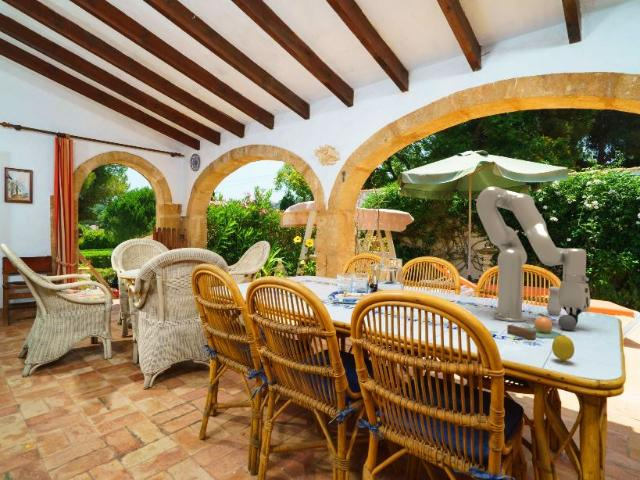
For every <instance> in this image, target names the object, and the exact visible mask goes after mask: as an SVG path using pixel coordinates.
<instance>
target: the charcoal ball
mask: <svg viewBox="0 0 640 480" xmlns="http://www.w3.org/2000/svg"><path fill="white" fill-rule="evenodd" d="M557 321H558V322H557V323H558V325H559V327H560V328H561V329H562V330H564V331H571V330H572V331H573V330H574V329H575V328H576V326H577V324H576V320H575V318H574V317H572V316H570V315H568V314H563V315H561V316H559V317H558V320H557Z"/></svg>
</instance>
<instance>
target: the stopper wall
mask: <svg viewBox="0 0 640 480" xmlns="http://www.w3.org/2000/svg"><path fill="white" fill-rule="evenodd" d="M506 326H507V330H506V331H507V332H506V333H507V334H510V335H513V336H516V337H520V338H523V339H525V340H529V341H535V340H537V337H536V331H533V330H529V329H525V328H526V327H521V326H518V325H514V324H507V325H506Z"/></svg>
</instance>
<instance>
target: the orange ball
mask: <svg viewBox="0 0 640 480" xmlns="http://www.w3.org/2000/svg"><path fill="white" fill-rule="evenodd" d="M553 326H554V325H553V323H552V320H551V319H549V318H548V317H545V316H541V317H537V318H536V319H535V321H534V328H536V329H537V330H538V331H539V332H542V333H548V332H550V331H553V328H554V327H553Z"/></svg>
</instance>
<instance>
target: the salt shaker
mask: <svg viewBox="0 0 640 480" xmlns="http://www.w3.org/2000/svg"><path fill="white" fill-rule="evenodd" d="M559 289H560V286H559V287H558V286H550V287H549V289H548V291H549V292H550V293H549V298H548V300H547V306H546V310H547V313H548V314H549V315H551V316H559V315H560V313H561V312H562V308H561V307H559V301H558V297H559Z"/></svg>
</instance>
